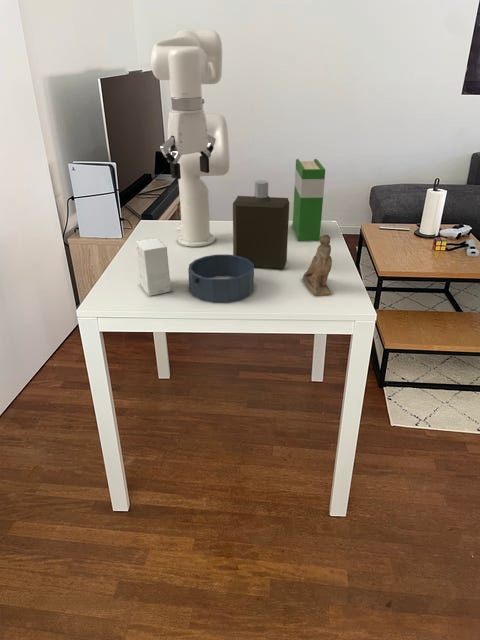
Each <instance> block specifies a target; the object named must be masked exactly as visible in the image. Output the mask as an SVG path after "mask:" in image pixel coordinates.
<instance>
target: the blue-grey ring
mask: <svg viewBox="0 0 480 640" xmlns="http://www.w3.org/2000/svg"><path fill="white" fill-rule="evenodd" d="M187 269H188V285H189V292H190V294H191V295H192V297H194V298H196V299H198V300H200V301H203V302H210V303H214V304H217V303H219V304H221V303H222V304H226V303H232V302H237V301H241V300H244V299H246V298H248V297H250V296H251V295H252V294H253V293H254V290H255V268H254V264H253V263H252V262H251V261H250V260H249V259H248V258H243V257H240V256H235V255H233V254H228V253H227V254H211V255H205V256H202V257H199V258H197V259H194V260H193V261H192V262H190V263H189V264H188V268H187ZM217 277H229V278H217Z"/></svg>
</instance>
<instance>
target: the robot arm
mask: <svg viewBox="0 0 480 640" xmlns="http://www.w3.org/2000/svg"><path fill="white" fill-rule="evenodd" d="M150 68H151V71H152V74H153V76H154V77H155V78H156V79H157V80H159V81H168V83H169V88H170V102H171V103H170V104H171V111H169V112H168V119H167V140H166V141H165V142H163V144H161V145H160V147H159V148H160V151H161V153H162V155H163V158H165V160H167V163H169V167H170V168H169V169H170V176H171V178H172V179H174V180H178V181H177V182H178V192H179V205H180V220H181V223H180V225H179V226H177V227H176V230H177V231H178V232H180V235H179V236H178V238H177V242H178V243H179V244H180V245H181V246H185V247H192V248H194V247H195V248H198V247H205V246H208V245H209V246H210V245H211V244H213V243H214V242H215V240H216V239H215V235H214V234H213V233H211V228H210V227H211V226H210V225H211V224H210V201H209V200H210V199H209V196H210V195H209V189H208V186H207V184H206V183H205V182H204V181H203V179H202V178H201V177H219V176H225V175H226V174H228V172H229V170H230V145H229V129H228V123H227V120H226V118H225V116H224V115H223V114H221V113H216V112H208V113H206V112H205V110H204V104H205V99H204V98H202V96H203V95H202V94H203V93H202V85H217V84H219V82H220V81H221V80H222V75H223V43H222V38H221V36H220V34H219V33H218V32H217V31H216V30H215V29H211V28H210V29H208V28H207V29H203V28H202V29H201V28H200V29H197V28H196V29H193V28H191V29H190V28H188V29H181V30H179V31H178V32H176V33H175V34H174V36H173V37H172V38H169V39H165V40H161V41H157V42H155V44H154V45H153V47H152V50H151V54H150Z"/></svg>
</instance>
